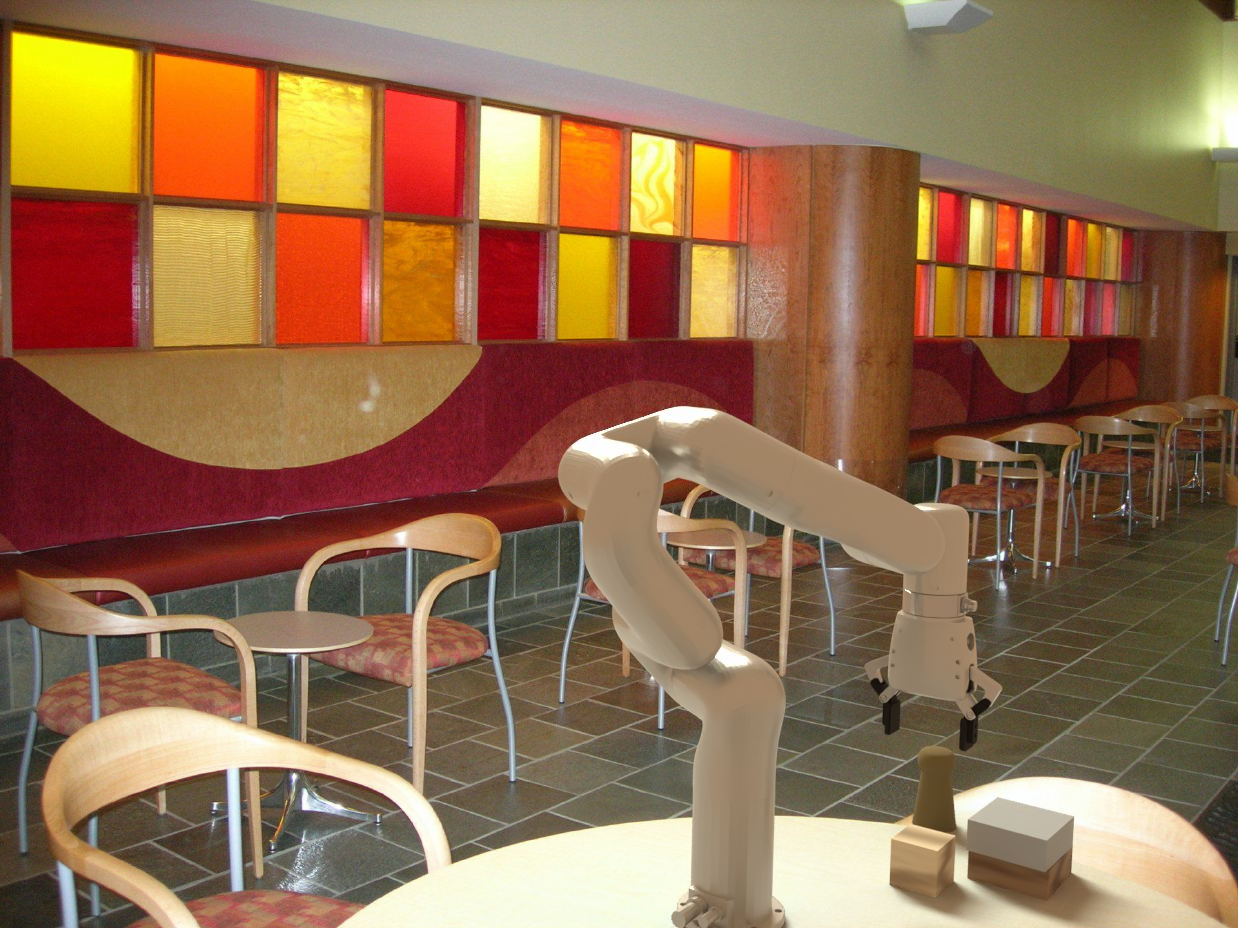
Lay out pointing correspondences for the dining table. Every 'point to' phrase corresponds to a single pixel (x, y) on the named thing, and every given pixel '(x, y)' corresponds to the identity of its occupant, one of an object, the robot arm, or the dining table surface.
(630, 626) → the robot arm
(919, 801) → the brown tapered cylinder
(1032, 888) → the tower base
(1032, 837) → the tower top
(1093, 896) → the dining table surface
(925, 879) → the block
